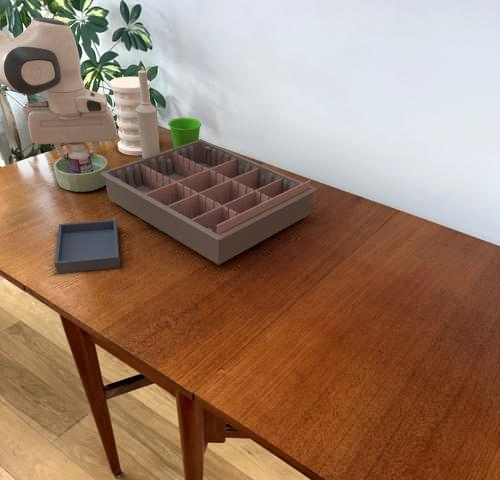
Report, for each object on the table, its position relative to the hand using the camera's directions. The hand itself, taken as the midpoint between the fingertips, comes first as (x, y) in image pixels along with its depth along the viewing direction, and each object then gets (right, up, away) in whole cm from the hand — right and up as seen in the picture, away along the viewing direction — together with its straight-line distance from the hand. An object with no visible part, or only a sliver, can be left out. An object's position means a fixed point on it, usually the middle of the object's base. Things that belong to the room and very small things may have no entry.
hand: (80, 158), depth 117 cm
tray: (+9, -26, -19) cm, 34 cm away
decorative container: (+9, +11, +22) cm, 27 cm away
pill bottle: (0, -4, +4) cm, 6 cm away
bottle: (+17, 0, +10) cm, 19 cm away
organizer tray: (+33, -15, -5) cm, 37 cm away
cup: (+25, +5, +16) cm, 30 cm away
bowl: (0, -4, +4) cm, 6 cm away
